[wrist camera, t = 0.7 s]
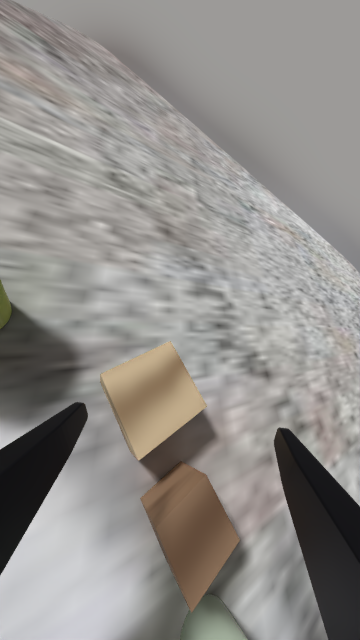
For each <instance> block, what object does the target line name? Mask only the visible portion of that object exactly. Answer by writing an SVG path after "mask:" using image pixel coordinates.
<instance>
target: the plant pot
mask: <svg viewBox="0 0 360 640" xmlns="http://www.w3.org/2000/svg"><path fill="white" fill-rule="evenodd" d="M11 312H12V309H11V304H10V302H9V299H8V297H7V295H6V292H5V290H4V288H3V285H2V283H1V280H0V329H1V328H2V327H3V326H4V325H5V324H6V323H7V322H8V320H9V318H10V316H11Z"/></svg>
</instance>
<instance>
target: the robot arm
mask: <svg viewBox="0 0 360 640" xmlns="http://www.w3.org/2000/svg"><path fill="white" fill-rule="evenodd" d="M87 418H88V413H87V409H86V406H85V404H84V403H81V402H76V403H74V404H72V405H70V406H69V407H67V408H66V409H64V410H62V411H61V412H59V413H58V414H56V415H54V416H53V417H51V418H50V419H48V420H47V421H45V422H43V423H42V424H40V425H39V426H37V427H35V428H34V429H32V430H31V431H29V432H28V433H26V434H24V435H23V436H21V437H20V438H18V439H16V440H15V441H13V442H12V443H10V444H8V445H7V446H5V447H4V448H2V449H1V450H0V575H1V573H2V572H3V570H4V568H5V567H6V565H7V563H8V561H9V560H10V558H11V556H12V554H13V553H14V551H15V549H16V548H17V546H18V544H19V542H20V541H21V539H22V537H23V535H24V534H25V532H26V530H27V529H28V527H29V525H30V523H31V522H32V520H33V518H34V516H35V515H36V513H37V511H38V510H39V508H40V506H41V504H42V503H43V501H44V499H45V498H46V496H47V494H48V492H49V491H50V489H51V487H52V485H53V484H54V482H55V480H56V479H57V477H58V475H59V473H60V472H61V470H62V468H63V466H64V465H65V463H66V461H67V460H68V458H69V456H70V454H71V452H72V450H73V448H74V446H75V444H76V442H77V440H78V438H79V436H80V434H81V431H82V429H83V427H84V425H85V423H86V421H87ZM274 447H275V452H276V457H277V462H278V466H279V471H280V476H281V481H282V486H283V490H284V493H285V497H286V500H287V504H288V507H289V510H290V514H291V517H292V520H293V524H294V527H295V530H296V534H297V537H298V540H299V543H300V547H301V550H302V553H303V557H304V560H305V563H306V567H307V570H308V573H309V577H310V580H311V583H312V587H313V590H314V593H315V597H316V600H317V603H318V607H319V610H320V613H321V617H322V620H323V623H324V627H325V630H326V633H327V636H328V640H360V506H359V505H358V504H357V503H356V502H355V501H354V500H353V498H352V497H351V496H350V495H349V494H348V493H347V492H346V491H345V490H344V489H343V488H342V486H341V485H340V484H339V483H338V482H337V481H336V480H335V479H334V478H333V477H332V475H331V474H330V473H329V472H328V471H327V470H326V469H325V468H324V467H323V466H322V465H321V463H320V462H319V461H318V460H317V459H316V458H315V457H314V456H313V455H312V454H311V452H310V451H309V450H308V449H307V448H306V447H305V446H304V445H303V444H302V443H301V442H300V440H299V439H298V438H297V437H296V436H295V435H294V434H293V433H292V432H291V431H290V430H289V429H287V428H278V429H277V432H276V435H275V439H274Z"/></svg>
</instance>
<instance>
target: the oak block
mask: <svg viewBox="0 0 360 640" xmlns="http://www.w3.org/2000/svg"><path fill="white" fill-rule="evenodd" d="M100 383H101V385H102V387H103V390H104V392H105V394H106V396H107V399H108V401H109V403H110V406H111V408H112V410H113V413H114V415H115V417H116V420H117V422H118V424H119V426H120V429H121V431H122V433H123V436H124V438H125V440H126V443H127V445H128V447H129V449H130V452H131V453H132V454H133V455H134V456H135V458H136V459H137V460H138V461H139V460H140V459H142V458H143V457H144V456H145V455H147V454H148V453H149V452H150V451H152V450H153V449H154V448H155V447H157V446H158V445H159V444H160V443H162V442H163V441H164V440H166V439H167V438H168V437H169V436H171V435H172V434H173V433H174V432H176V431H177V430H178V429H179V428H181V427H182V426H183V425H184V424H186V423H187V422H188V421H189V420H191V419H192V418H193V417H194V416H196V415H197V414H198V413H199V412H201V411H202V410H203V409H204V408H206V407H207V405H206V403H205V402H204V400H203V398H202V396H201V394H200V393H199V391H198V389H197V387H196V386H195V384H194V382H193V380H192V378H191V377H190V375H189V373H188V371H187V369H186V368H185V366H184V364H183V362H182V361H181V359H180V357H179V355H178V353H177V352H176V350H175V348H174V346H173V345H172V343H171V341H170V342H167V343H165V344H163V345H161V346H159V347H157V348H155V349H153V350H150V351H148V352H146V353H144V354H142V355H140V356H138V357H136V358H134V359H131V360H129V361H127V362H125V363H123V364H121V365H119V366H117V367H114V368H112V369H110V370H108V371H106V372H104V373H102V374H100Z"/></svg>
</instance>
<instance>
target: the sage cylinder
mask: <svg viewBox="0 0 360 640" xmlns="http://www.w3.org/2000/svg"><path fill="white" fill-rule="evenodd" d="M180 640H248V639H247V638H246V636H245V635H244V633H243V632H242V630H241V629H240V627H239V626H238V624H237V623H236V621H235V620H234V618H233V617H232V615H231V614H230V612H229V611H228V609H227V608H226V606H225V605H224V603H223V602H222V601H221V600H220V599H219V598H218V597H217V596H215V595H211V594H207V595H204V596H203V597H202V598H201V600H200V601H199V603H198V604H197V606H196V607H195V609H194V610H193V612H192V613H191V611H190V610H189V612H188V614H187V616H186V618H185V621H184V624H183V627H182V631H181V636H180Z"/></svg>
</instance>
